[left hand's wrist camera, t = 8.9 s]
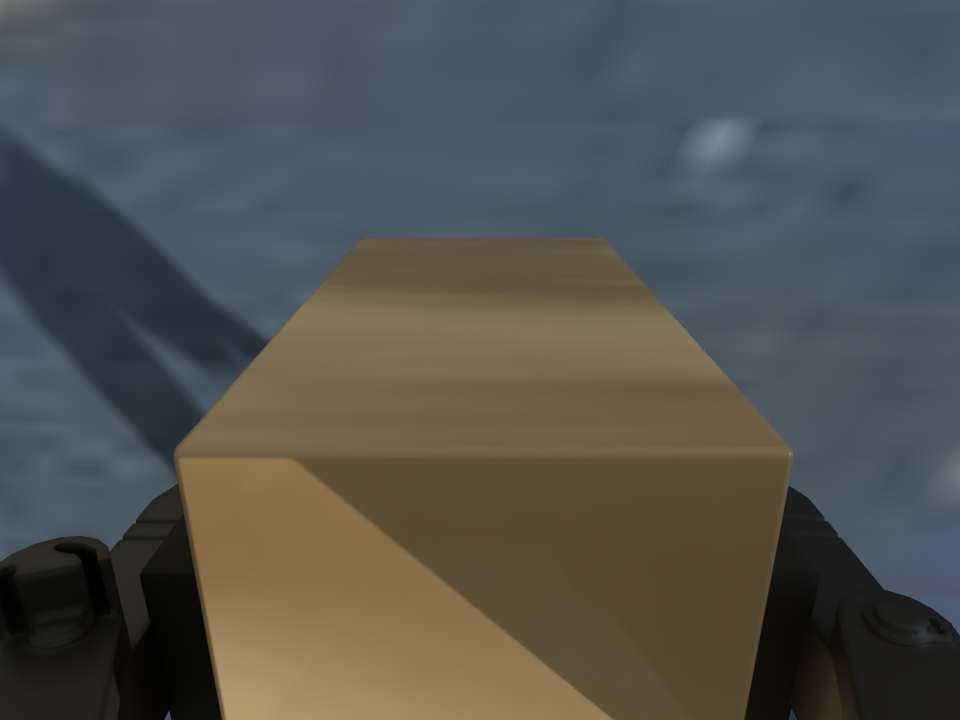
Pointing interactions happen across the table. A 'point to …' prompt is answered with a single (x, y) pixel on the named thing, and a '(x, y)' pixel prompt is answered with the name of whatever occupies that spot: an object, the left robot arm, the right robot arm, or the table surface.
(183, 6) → the table surface
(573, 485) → the plank
